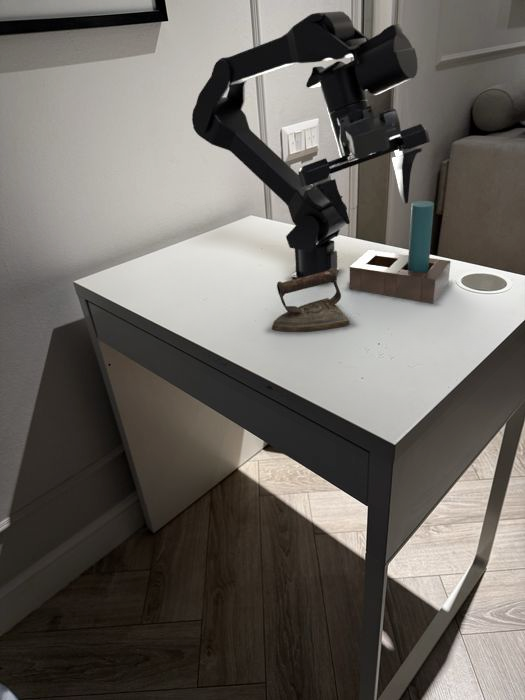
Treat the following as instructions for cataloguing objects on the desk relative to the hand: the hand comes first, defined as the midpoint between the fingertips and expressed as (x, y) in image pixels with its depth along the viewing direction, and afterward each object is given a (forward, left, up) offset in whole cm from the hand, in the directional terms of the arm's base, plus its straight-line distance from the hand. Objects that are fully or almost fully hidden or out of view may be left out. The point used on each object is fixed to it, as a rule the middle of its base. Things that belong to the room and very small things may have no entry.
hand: (376, 213), depth 79 cm
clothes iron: (-5, -14, -13) cm, 20 cm away
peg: (+6, +3, -13) cm, 14 cm away
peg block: (+3, +3, -13) cm, 13 cm away
